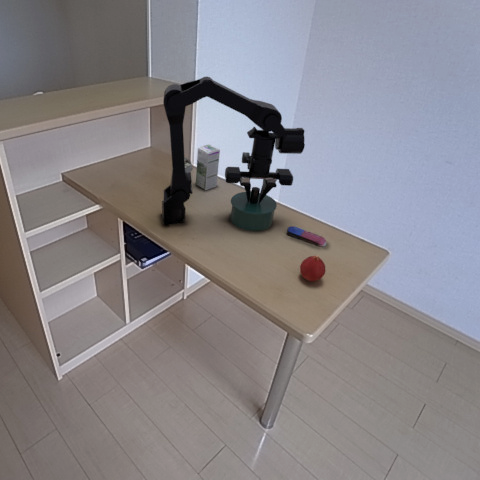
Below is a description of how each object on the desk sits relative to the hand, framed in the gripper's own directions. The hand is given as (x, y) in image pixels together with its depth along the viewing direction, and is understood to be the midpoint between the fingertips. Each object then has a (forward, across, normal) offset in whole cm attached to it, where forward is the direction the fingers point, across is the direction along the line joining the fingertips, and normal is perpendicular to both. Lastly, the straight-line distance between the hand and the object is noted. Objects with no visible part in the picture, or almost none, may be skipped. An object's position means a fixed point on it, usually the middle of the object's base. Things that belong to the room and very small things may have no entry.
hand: (253, 201), depth 112 cm
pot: (+7, 0, 0) cm, 7 cm away
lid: (+1, 0, 0) cm, 1 cm away
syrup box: (+7, +13, -23) cm, 28 cm away
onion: (+7, -11, +27) cm, 30 cm away
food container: (+7, +22, -20) cm, 30 cm away
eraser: (+7, -15, +9) cm, 19 cm away
